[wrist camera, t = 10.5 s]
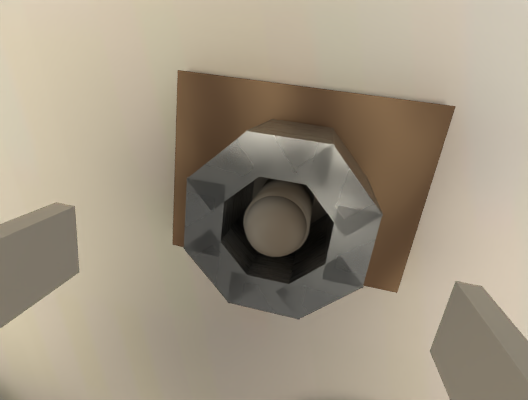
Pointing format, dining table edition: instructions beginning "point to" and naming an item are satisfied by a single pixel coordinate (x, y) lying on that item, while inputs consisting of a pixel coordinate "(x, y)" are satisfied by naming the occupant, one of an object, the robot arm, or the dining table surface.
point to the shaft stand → (299, 195)
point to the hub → (320, 232)
